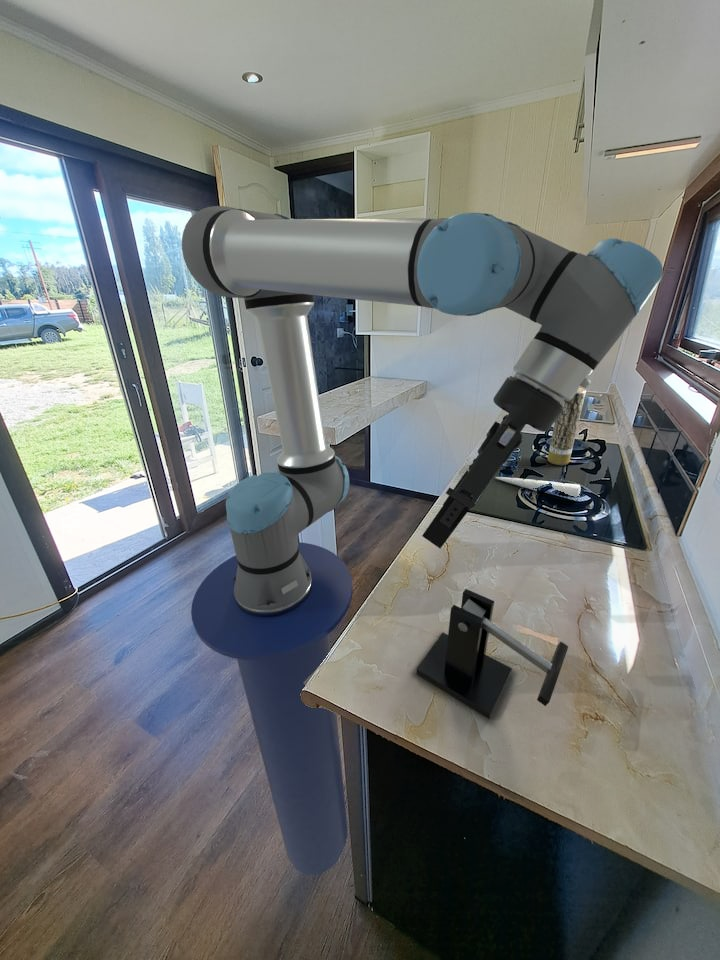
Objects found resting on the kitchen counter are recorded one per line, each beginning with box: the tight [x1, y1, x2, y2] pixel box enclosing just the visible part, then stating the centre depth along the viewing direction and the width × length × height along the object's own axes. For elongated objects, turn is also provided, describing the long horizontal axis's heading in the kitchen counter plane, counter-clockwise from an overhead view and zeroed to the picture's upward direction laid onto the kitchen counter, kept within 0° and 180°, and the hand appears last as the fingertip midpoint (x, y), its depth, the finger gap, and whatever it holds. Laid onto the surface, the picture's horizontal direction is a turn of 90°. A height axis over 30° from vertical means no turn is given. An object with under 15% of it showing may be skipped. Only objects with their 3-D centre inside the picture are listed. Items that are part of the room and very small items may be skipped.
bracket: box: [415, 588, 513, 720], centre depth 58 cm, size 12×9×15 cm
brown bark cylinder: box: [547, 386, 587, 466], centre depth 125 cm, size 7×7×25 cm
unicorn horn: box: [494, 476, 582, 497], centre depth 113 cm, size 5×24×5 cm, turn 47°
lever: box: [462, 599, 569, 707], centre depth 53 cm, size 14×10×2 cm
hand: (441, 523), depth 54 cm, fingers open, 13 cm apart
